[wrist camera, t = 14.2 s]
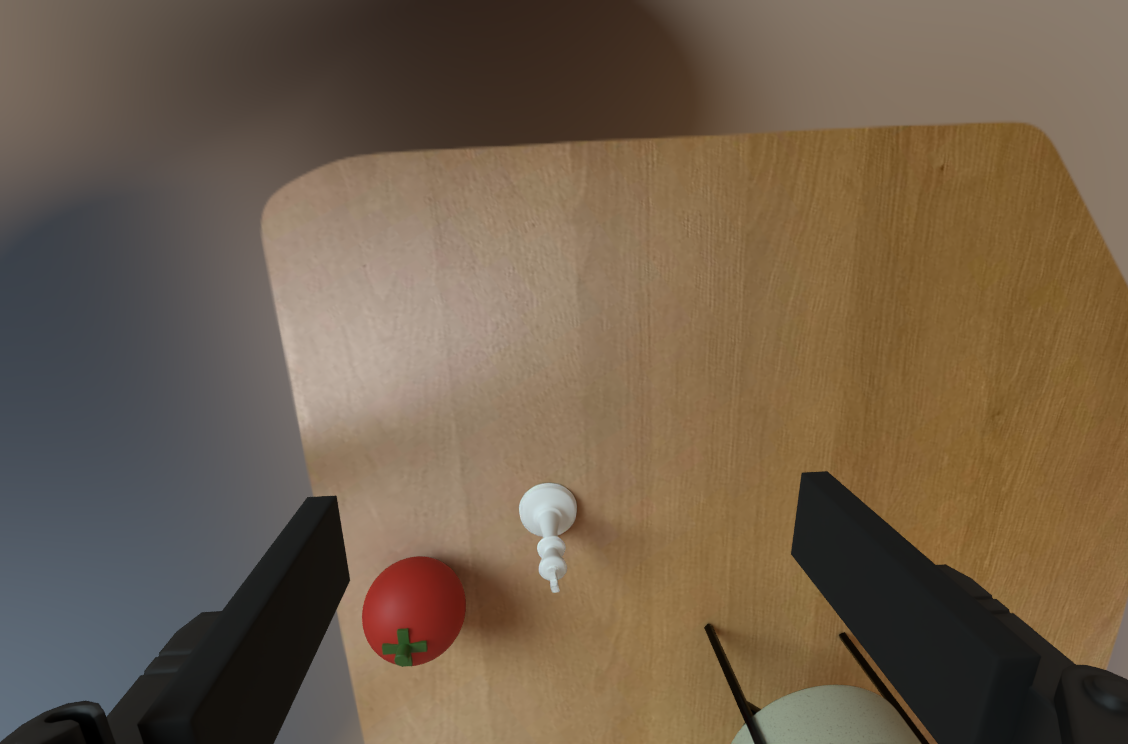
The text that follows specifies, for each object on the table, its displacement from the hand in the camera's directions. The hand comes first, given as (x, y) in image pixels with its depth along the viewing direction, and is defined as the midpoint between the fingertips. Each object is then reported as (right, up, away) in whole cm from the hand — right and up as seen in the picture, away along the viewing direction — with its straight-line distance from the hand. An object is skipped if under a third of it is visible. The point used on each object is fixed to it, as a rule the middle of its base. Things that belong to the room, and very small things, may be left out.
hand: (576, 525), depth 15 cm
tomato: (-13, -14, +31) cm, 36 cm away
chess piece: (-2, -7, +30) cm, 31 cm away
